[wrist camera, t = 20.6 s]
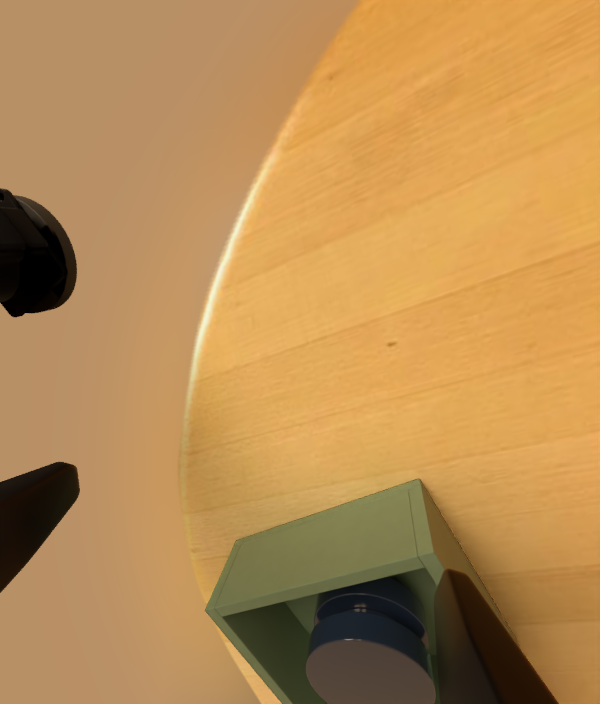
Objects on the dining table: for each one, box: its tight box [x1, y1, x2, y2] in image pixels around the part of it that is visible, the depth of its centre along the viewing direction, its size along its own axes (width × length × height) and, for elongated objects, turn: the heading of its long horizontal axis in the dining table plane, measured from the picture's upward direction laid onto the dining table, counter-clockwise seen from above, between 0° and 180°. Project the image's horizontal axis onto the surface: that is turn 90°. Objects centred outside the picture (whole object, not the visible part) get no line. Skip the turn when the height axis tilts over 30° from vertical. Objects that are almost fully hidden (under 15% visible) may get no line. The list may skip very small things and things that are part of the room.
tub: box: [205, 479, 520, 704], centre depth 22 cm, size 15×15×5 cm
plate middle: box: [306, 608, 436, 704], centre depth 20 cm, size 7×7×2 cm
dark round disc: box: [314, 577, 430, 650], centre depth 22 cm, size 7×7×2 cm
